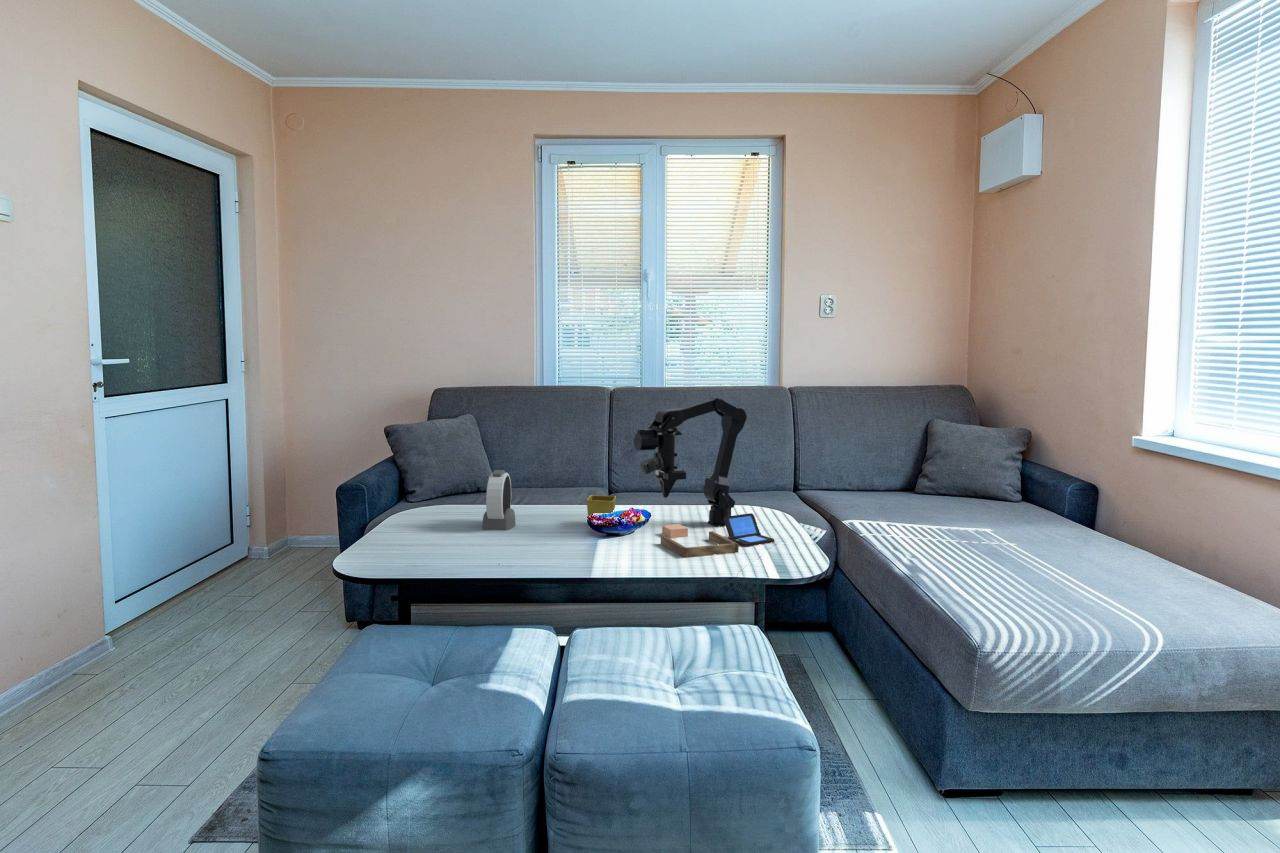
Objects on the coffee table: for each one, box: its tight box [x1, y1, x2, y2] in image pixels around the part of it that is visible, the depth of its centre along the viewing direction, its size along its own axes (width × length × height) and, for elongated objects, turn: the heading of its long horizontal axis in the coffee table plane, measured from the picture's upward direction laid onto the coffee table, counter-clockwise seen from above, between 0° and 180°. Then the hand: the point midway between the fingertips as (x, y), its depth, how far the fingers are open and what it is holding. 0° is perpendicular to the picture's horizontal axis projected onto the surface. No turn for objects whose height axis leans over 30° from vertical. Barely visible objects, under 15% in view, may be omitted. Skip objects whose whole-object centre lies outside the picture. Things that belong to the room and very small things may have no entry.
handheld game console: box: [724, 512, 775, 548], centre depth 239 cm, size 12×11×7 cm
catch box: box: [660, 530, 740, 559], centre depth 230 cm, size 17×16×2 cm
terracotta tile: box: [661, 523, 689, 539], centre depth 245 cm, size 6×6×3 cm
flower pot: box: [586, 494, 617, 518], centre depth 257 cm, size 9×9×9 cm
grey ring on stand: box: [482, 469, 516, 531], centre depth 253 cm, size 16×10×18 cm, turn 179°
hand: (665, 497), depth 251 cm, fingers closed
